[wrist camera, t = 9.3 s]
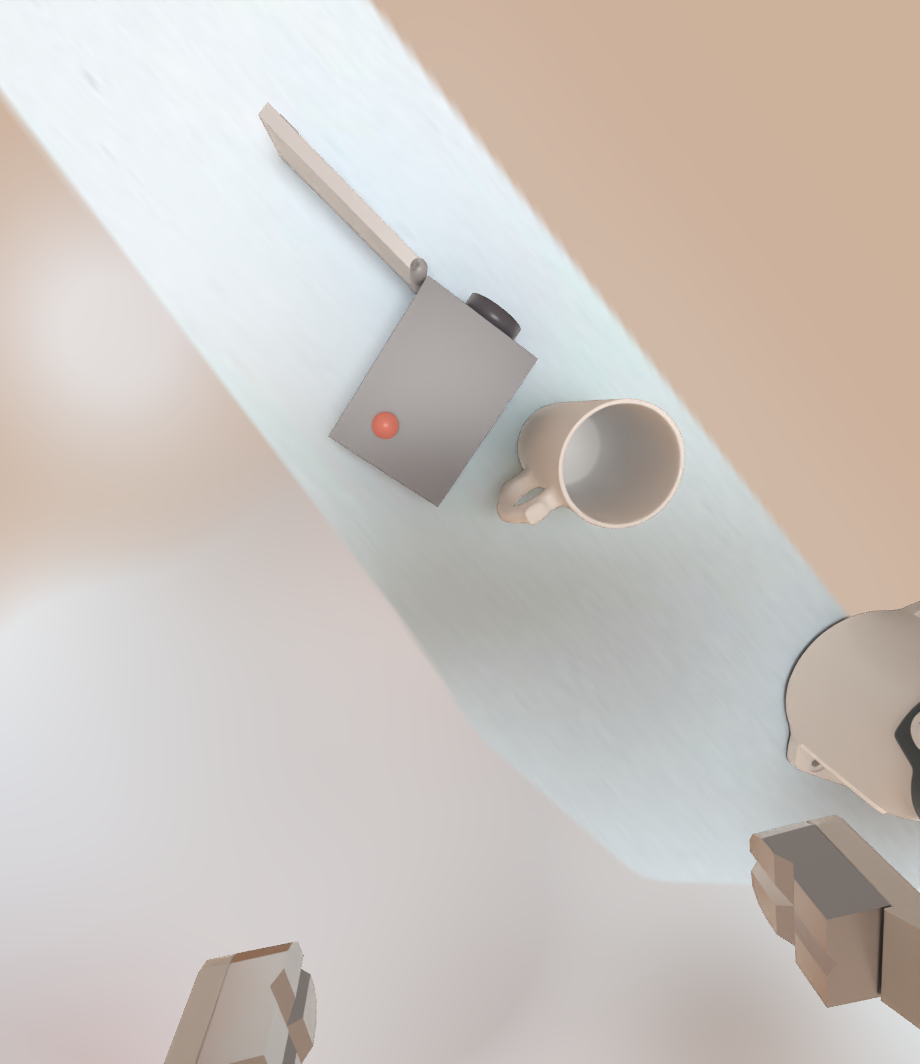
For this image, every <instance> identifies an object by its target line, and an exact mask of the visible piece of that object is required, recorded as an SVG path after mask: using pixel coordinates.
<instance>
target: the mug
mask: <svg viewBox="0 0 920 1064" xmlns="http://www.w3.org/2000/svg"><path fill="white" fill-rule="evenodd" d="M518 456H519V460H520V463H521V465H522V467H523V469H524V470H523V471H522V472H521V473H520V474H518V475H517V476H515V477H514V478H512V479H511V480H509V481H508V482H507V483H505V484H504V485H503V487H502V490H501V494H500V496H499V499H498V503H497V513H498V515H499V517H500V518H501V519H502V520H503V521H505V522H509V523H529V524H531V525H535V524H537V523H538V522H540V521H541V520H542V519H544V518H545V517H546V516H547V515H548V513H549V512H550V511H552V510H553V509H555V508H558V507H561V506H565V507H568V508H569V509H571V510H572V511H574V512H575V513H576V514H577V515H578V516H580V517H581V518H582V519H584V520H586V521H587V522H589V523H591V524H594V525H597V526H600V527H604V528H626V527H631V526H634V525H637V524H640V523H642V522H644V521H646V520H648V519H650V518H651V517H653V516H654V515H655V514H657V513H658V512H659V511H660V510H661V509H662V508H663V507H664V506H665V505H666V504H667V503H668V502H669V501H670V499H671V498H672V496H673V495H674V493H675V491H676V490H677V488H678V485H679V483H680V480H681V478H682V474H683V469H684V462H685V451H684V444H683V440H682V436H681V434H680V431H679V429H678V427H677V426H676V424H675V423H674V421H673V420H672V419H671V418H670V416H669V415H668V414H666V413H665V412H664V411H663V410H662V409H660V408H659V407H657V406H655V405H653V404H651V403H648V402H645V401H642V400H637V399H611V400H593V401H578V402H563V403H554V404H550V405H547V406H544V407H542V408H541V409H539V410H537V411H536V412H535V413H533V414H532V415H531V416H530V417H529V419H528V420H527V421H526V423H525V424H524V426H523V428H522V430H521V432H520V435H519V440H518ZM536 487H542V488H544V490H543V491H542V492H541V493H540V494H539V495H537V496H536V497H534V498H533V499H531V500H529V501H527V502H525V503H523V504H520V505H516V506H514V505H515V503H516V502H517V501H518V500H519V499H520V498H521V497H522V496H523V495H525V494H526V493H527V492H529V491H530V490H532V489H534V488H536Z"/></svg>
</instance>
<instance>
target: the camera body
mask: <svg viewBox="0 0 920 1064" xmlns="http://www.w3.org/2000/svg"><path fill="white" fill-rule="evenodd" d="M520 330H521V328H520V326H519V324H518V323H517V322H516V321H515V319H514V318H513V317H512V316H511V315H510V314H508V313H507V312H506V311H505V310H504V309H502V308H501V307H500V306H499V305H497V304H496V303H494V302H493V301H491V300H489V299H488V298H486V297H484V296H482V295H480V294H477V293H472V295H471V296H470V298H469V299H468V301H467V302H466V304H465V303H464V302H462V301H461V300H460V299H458V298H457V297H456V296H454V295H453V294H452V293H450V292H449V291H448V290H446V289H445V288H444V287H443V286H441V285H440V284H439V283H437V282H436V281H435V280H433V279H432V278H431V277H429V276H428V277H427V278H426V280H425V281H424V283H423V285H422V286H421V288H420V290H419V291H418V293H417V294H416V296H415V298H414V299H413V301H412V302H411V304H410V306H409V307H408V309H407V311H406V312H405V314H404V315H403V317H402V319H401V320H400V322H399V323H398V325H397V327H396V328H395V330H394V331H393V333H392V335H391V336H390V338H389V340H388V341H387V343H386V344H385V346H384V348H383V349H382V351H381V352H380V354H379V356H378V357H377V359H376V361H375V362H374V364H373V365H372V367H371V369H370V370H369V372H368V373H367V375H366V377H365V378H364V380H363V382H362V383H361V385H360V386H359V388H358V390H357V391H356V393H355V394H354V396H353V398H352V399H351V401H350V403H349V404H348V406H347V407H346V409H345V411H344V412H343V414H342V415H341V417H340V419H339V420H338V422H337V423H336V425H335V427H334V428H333V430H332V432H331V433H330V435H329V437H330V438H332V439H333V440H335V441H336V442H338V443H339V444H341V445H343V446H344V447H346V448H347V449H349V450H350V451H352V452H353V453H355V454H357V455H358V456H360V457H361V458H363V459H364V460H366V461H367V462H369V463H370V464H372V465H374V466H375V467H377V468H378V469H380V470H381V471H383V472H384V473H386V474H387V475H389V476H391V477H392V478H394V479H395V480H397V481H398V482H400V483H401V484H403V485H405V486H406V487H408V488H409V489H411V490H412V491H414V492H415V493H417V494H418V495H420V496H422V497H423V498H425V499H426V500H428V501H429V502H431V503H432V504H434V505H435V506H437V507H438V506H439V504H440V503H441V501H442V500H443V498H444V497H445V496H446V494H447V493H448V491H449V490H450V488H451V487H452V485H453V484H454V482H455V481H456V479H457V478H458V476H459V475H460V473H461V472H462V470H463V469H464V467H465V466H466V464H467V463H468V461H469V460H470V459H471V457H472V456H473V454H474V453H475V451H476V450H477V448H478V447H479V445H480V444H481V442H482V441H483V439H484V438H485V436H486V435H487V433H488V432H489V430H490V429H491V427H492V426H493V425H494V423H495V422H496V420H497V419H498V417H499V416H500V414H501V413H502V411H503V410H504V408H505V407H506V405H507V404H508V402H509V401H510V399H511V398H512V396H513V395H514V393H515V392H516V390H517V389H518V388H519V386H520V385H521V383H522V382H523V380H524V379H525V377H526V376H527V374H528V373H529V371H530V370H531V368H532V367H533V365H534V364H535V362H536V361H537V358H536V357H535V356H533V355H532V354H531V353H530V352H528V351H527V350H526V349H524V348H523V347H522V346H520V345H519V344H518V343H516V342H515V341H514V339H515V338H516V336H517V335H518V333H519V332H520Z"/></svg>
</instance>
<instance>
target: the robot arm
mask: <svg viewBox="0 0 920 1064" xmlns="http://www.w3.org/2000/svg"><path fill="white" fill-rule="evenodd" d="M786 712H787V717H788V721H789V725H790V730H791V736H790V740H789V745H788V751H787V758H788V761H789V762H790V763H791V764H792V765H794V766H795V767H796V768H798V769H799V770H801V771H803V772H806V773H809V774H812V775H815V776H818V777H821V778H824V779H827V780H830V781H833V782H835V783H838V784H841V785H844V786H847V787H849V788H850V789H852V790H853V791H854V792H855V793H856V794H858V795H859V796H860V797H861V798H862V799H864V800H865V801H866V802H867V803H868V804H870V805H871V806H872V807H873V808H875V809H876V810H877V811H879V812H881V813H882V814H887V813H890V814H892V815H894V816H897V817H900V818H903V819H908V820H914V821H919V822H920V601H919V602H916V603H914V604H911V605H909V606H907V607H905V608H902V609H898V610H888V611H886V610H885V611H871V612H866V613H861V614H858V615H855V616H852V617H850V618H847V619H845V620H843V621H841V622H839V623H837V624H836V625H834V626H832V627H831V628H829V629H828V630H827V631H825V632H824V633H823V634H821V635H820V636H819V637H818V638H817V639H816V640H815V641H814V642H813V643H812V644H811V645H810V646H809V647H808V648H807V650H806V651H805V652H804V654H803V655H802V656H801V658H800V659H799V661H798V663H797V664H796V666H795V668H794V670H793V672H792V675H791V677H790V680H789V684H788V688H787V693H786ZM750 852H751V853H752V854H753V856H754V857H755V859H756V860H757V863H756V864H755V866H754V867H753V869H752V871H751V875H752V886H753V889H754V892H755V895H756V898H757V900H758V903H759V906H760V907H761V909H762V911H763V913H764V915H765V917H766V919H767V920H768V922H769V923H770V925H771V926H772V928H773V929H774V931H775V932H776V934H777V935H779V936H780V937H782V938H783V939H785V940H787V941H788V942H790V943H791V944H793V945H794V946H795V956H796V963H797V965H798V966H799V968H800V969H801V971H802V972H803V973H804V975H805V976H806V978H807V979H808V981H809V982H810V984H811V985H812V987H813V988H814V990H815V991H816V992H817V994H818V995H819V997H820V998H821V1000H822V1001H823V1003H824V1004H825V1006H826V1007H827V1008H829V1007H833V1006H838V1005H843V1004H848V1003H852V1002H857V1001H862V1000H867V999H872V998H877V997H881V1001H882V1002H884V1003H885V1004H886V1005H888V1006H889V1007H890V1008H892V1009H893V1010H895V1011H896V1012H897V1013H899V1014H900V1015H901V1016H903V1017H904V1018H905V1019H907V1020H908V1021H909V1022H911V1023H912V1024H913V1025H915V1026H916V1027H918V1028H919V1029H920V893H919V892H918V891H917V890H916V889H915V888H914V887H913V886H912V885H911V884H910V883H909V882H908V881H907V880H906V879H904V878H903V877H902V876H901V875H900V874H899V873H898V872H897V871H896V870H895V869H894V868H893V867H892V866H891V865H890V864H889V863H888V862H887V861H886V860H885V859H884V858H883V857H882V856H881V855H880V854H878V853H877V852H876V851H875V850H874V849H873V848H872V847H871V846H870V845H869V844H868V843H867V842H866V841H865V840H864V839H863V838H862V837H861V836H860V835H859V834H858V833H857V832H856V831H855V830H854V829H853V828H851V827H850V826H849V825H848V824H847V823H846V822H845V821H844V820H843V819H842V818H840V817H838V816H836V815H832V816H828V817H824V818H819V819H815V820H811V821H807V822H799V823H795V824H791V825H787V826H783V827H779V828H775V829H771V830H767V831H763V832H759V833H755V834H753V835H752V836H751V838H750ZM303 956H304V955H303V953H302V950H301V948H300V946H299V943H298V942H292V943H287V944H282V945H277V946H272V947H267V948H262V949H257V950H252V951H247V952H242V953H237V954H233V955H228V956H224V957H219V958H214V959H210V960H207V961H206V963H205V964H204V965H203V967H202V969H201V970H200V971H199V973H198V975H197V978H196V981H195V983H194V986H193V988H192V991H191V994H190V997H189V999H188V1002H187V1004H186V1007H185V1010H184V1012H183V1015H182V1018H181V1020H180V1023H179V1025H178V1028H177V1031H176V1034H175V1036H174V1038H173V1041H172V1044H171V1046H170V1049H169V1052H168V1055H167V1057H166V1060H165V1062H164V1064H302V1062H303V1061H304V1059H305V1057H306V1056H307V1054H308V1053H309V1051H310V1050H311V1048H312V1046H313V1042H314V1036H315V1029H316V994H315V988H314V984H313V981H312V978H311V975H310V974H309V973H307V972H305V971H304V970H302V969H301V966H302V961H303Z"/></svg>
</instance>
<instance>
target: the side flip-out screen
mask: <svg viewBox="0 0 920 1064" xmlns="http://www.w3.org/2000/svg"><path fill="white" fill-rule="evenodd" d="M258 115H259V117H260V119H261V121H262V123H263V125H264V127H265V128H266V130H267V132H268V134H269V136H270V138H271V140H272V142H273V143H274V145H275V147H276V149H277V151H278V153H279V155H280V156H281V157H282V158H283V159H284V160H285V161H286V162H287V163H288V164H289V165H290V166H291V167H292V168H293V169H294V170H295V171H296V172H297V173H298V174H299V175H300V176H301V177H302V178H303V179H304V180H305V182H306V183H307V184H308V185H309V186H310V187H311V188H312V189H313V190H314V191H315V192H316V193H317V194H318V195H319V196H320V197H321V198H322V199H323V200H324V201H325V202H326V203H327V204H328V205H329V206H330V207H331V208H332V209H333V210H334V211H335V212H336V213H337V214H338V215H339V216H340V217H341V218H342V219H343V220H344V221H345V222H346V223H347V224H348V225H349V226H350V227H351V228H352V229H353V230H354V231H355V232H356V233H357V234H358V235H359V236H360V237H361V238H362V239H363V240H364V241H365V242H366V243H367V244H368V245H369V246H370V247H371V248H372V249H373V250H374V251H375V252H376V253H377V254H378V255H379V256H380V257H381V258H382V259H383V260H384V261H385V262H386V263H387V264H388V265H389V266H390V267H391V268H392V269H393V270H394V271H395V272H396V273H397V274H398V275H399V276H400V277H401V278H402V279H403V280H404V281H405V282H406V283H407V284H408V285H409V286H410V287H411V290H412V291H413V292H414V293H418V291H419V290H420V288H421V286H422V285H423V283H424V281H425V280H426V276H427V264H426V262H425V261H424V260H423V259H421V258H419V257H418V256H417V255H416V254H415V253H414V252H413V251H412V250H411V249H410V248H409V247H408V246H407V245H406V244H405V243H404V242H403V241H402V240H401V239H400V238H399V237H398V236H397V234H396V233H395V232H394V231H393V230H392V229H391V228H390V227H389V226H388V225H387V224H386V223H385V222H384V221H383V220H382V219H381V218H380V217H379V216H378V215H377V214H376V213H375V212H374V211H373V210H372V209H371V208H370V207H369V206H368V205H367V204H366V203H365V202H364V201H363V200H362V199H361V197H360V196H359V195H358V194H357V193H356V192H355V191H354V190H353V189H352V188H351V187H350V186H349V185H348V184H347V183H346V182H345V181H344V180H343V179H342V178H341V177H340V176H339V175H338V174H337V173H336V172H335V171H334V170H333V169H332V168H331V167H330V166H329V165H328V164H327V163H326V162H325V161H324V159H323V158H322V157H321V156H320V155H319V154H318V153H317V152H316V151H315V150H314V149H313V148H312V147H311V146H310V145H309V144H308V143H307V142H306V141H305V140H304V139H303V138H302V137H301V136H300V135H299V133H298V131H297V130H296V129H295V128H294V127H293V126H292V125H291V124H290V123H289V122H288V121H287V120H286V119H285V118H284V117H283V116H282V115H281V114H279V113H278V112H277V111H276V110H275V109H274V108H273V107H272V106H271V105H270V104H269V103H267V104H266V105H265V106H264V108H263V109H262V110H261V112H260V113H259V114H258Z"/></svg>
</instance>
